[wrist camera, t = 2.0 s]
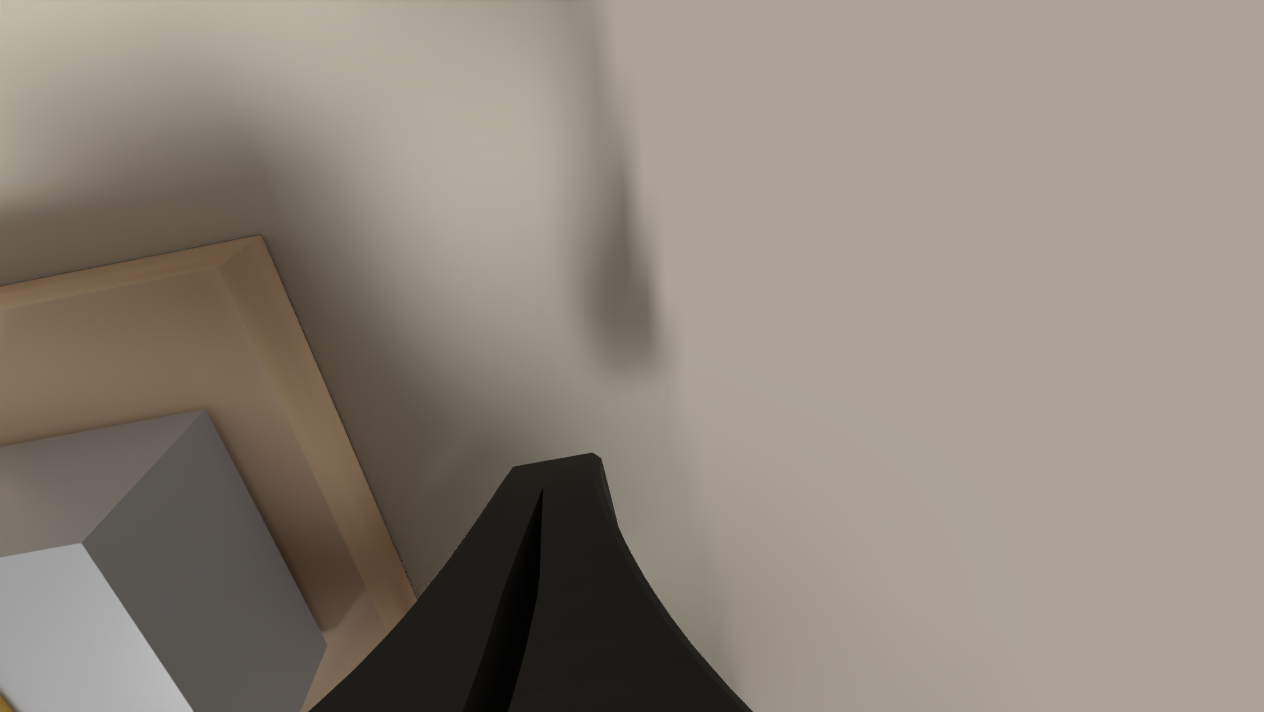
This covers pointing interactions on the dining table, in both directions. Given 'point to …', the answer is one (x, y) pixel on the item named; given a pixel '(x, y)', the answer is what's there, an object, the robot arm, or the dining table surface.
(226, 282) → the plank
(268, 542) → the block
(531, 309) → the dining table surface
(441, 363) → the dining table surface
